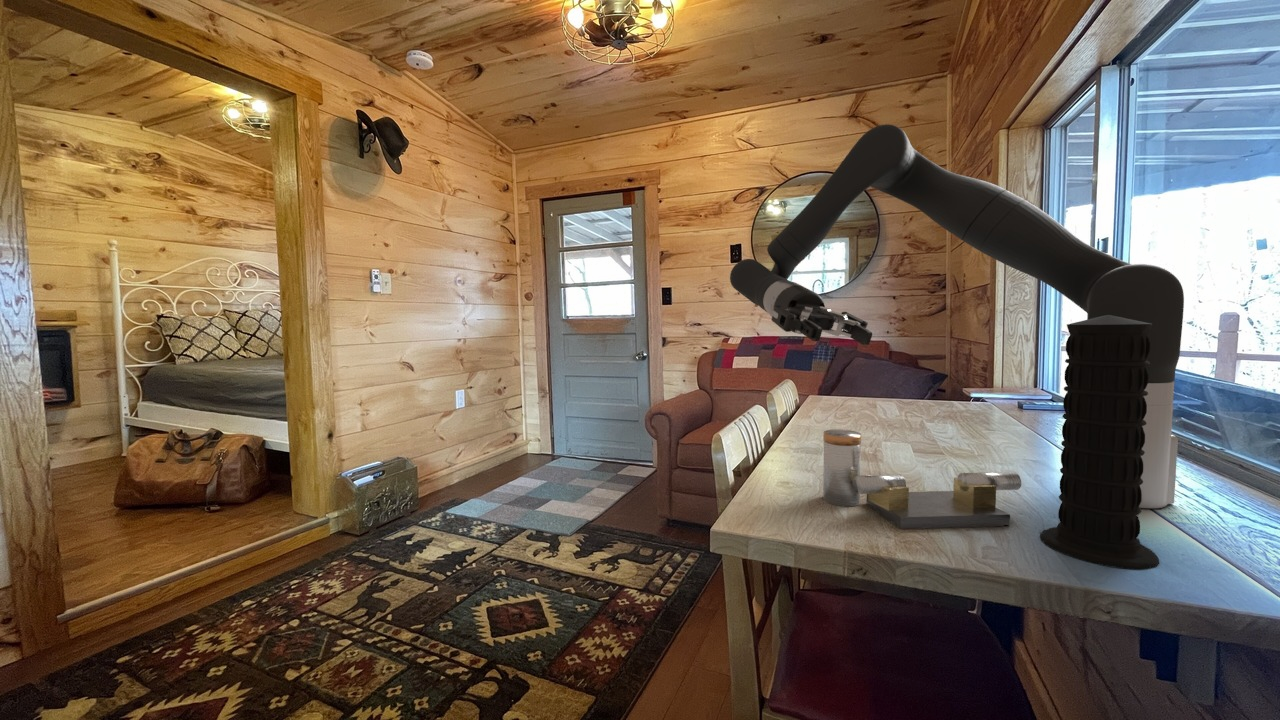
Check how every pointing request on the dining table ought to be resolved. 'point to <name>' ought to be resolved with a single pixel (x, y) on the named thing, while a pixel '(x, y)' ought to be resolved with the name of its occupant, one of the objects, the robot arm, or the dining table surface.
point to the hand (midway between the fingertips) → (844, 337)
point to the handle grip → (1103, 444)
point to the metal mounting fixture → (939, 500)
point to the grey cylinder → (841, 466)
